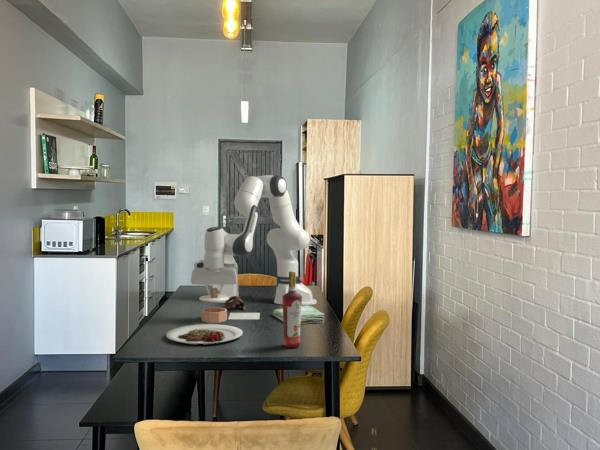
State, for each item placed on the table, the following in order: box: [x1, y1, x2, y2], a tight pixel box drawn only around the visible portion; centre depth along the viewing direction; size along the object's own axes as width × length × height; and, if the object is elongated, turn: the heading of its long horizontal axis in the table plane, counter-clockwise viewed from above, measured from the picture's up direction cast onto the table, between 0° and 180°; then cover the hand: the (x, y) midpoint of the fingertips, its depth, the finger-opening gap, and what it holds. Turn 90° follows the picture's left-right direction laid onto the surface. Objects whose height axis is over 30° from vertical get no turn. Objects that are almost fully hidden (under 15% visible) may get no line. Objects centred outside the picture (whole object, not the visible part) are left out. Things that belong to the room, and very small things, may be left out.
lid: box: [198, 287, 229, 303], centre depth 251 cm, size 13×13×5 cm
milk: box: [212, 254, 240, 304], centre depth 301 cm, size 12×12×26 cm
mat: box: [227, 312, 261, 320], centre depth 261 cm, size 14×14×1 cm
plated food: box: [165, 323, 244, 345], centre depth 224 cm, size 30×30×3 cm
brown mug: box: [223, 296, 246, 311], centre depth 276 cm, size 12×10×8 cm
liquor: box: [282, 271, 303, 349], centre depth 210 cm, size 7×7×28 cm
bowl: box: [201, 307, 228, 324], centre depth 252 cm, size 11×11×5 cm
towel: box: [272, 305, 325, 325], centre depth 257 cm, size 18×21×5 cm
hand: (214, 294), depth 251 cm, fingers closed on lid, 3 cm apart
